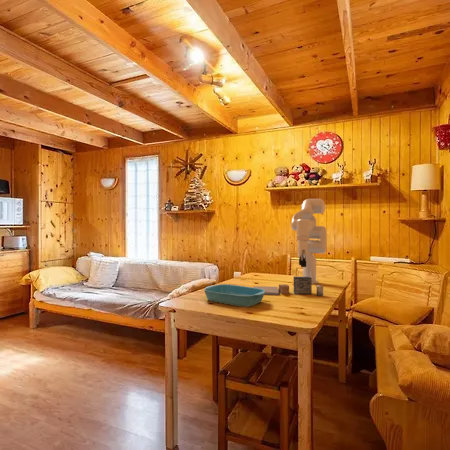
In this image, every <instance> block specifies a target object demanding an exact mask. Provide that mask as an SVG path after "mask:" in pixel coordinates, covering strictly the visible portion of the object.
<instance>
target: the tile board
mask: <svg viewBox="0 0 450 450" xmlns="http://www.w3.org/2000/svg"><path fill="white" fill-rule="evenodd" d="M252 288H260V289H264V290H265V294H264V296H280V293H279V286H263V285H262V286H259V285H256V286H255V285H253V287H252Z"/></svg>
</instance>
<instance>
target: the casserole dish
mask: <svg viewBox="0 0 450 450" xmlns="http://www.w3.org/2000/svg"><path fill="white" fill-rule="evenodd" d="M203 291H204V293H205V296H206V298H207V300H208V301H210V302H213V301H214V302H213V303H217V302H219V303H218V304H222V303H224V305H228V304H230V306H234V305H235V306H236V307H240V306H242V307H241V308H249V307H250V308H251V307H252V306H255V305H257V304H259V303H260V302H262V301H263V299H264V296H265V295H264V294H265V290H264V289H260V288H253V287H251V286H244V285H238V284H237V285H236V284H231V283H229V284H227V283H226V284H225V283H224V284H223V283H221V284H214V285H209V286H206V287H205V288H204V289H203Z"/></svg>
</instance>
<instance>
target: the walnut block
mask: <svg viewBox="0 0 450 450" xmlns="http://www.w3.org/2000/svg"><path fill="white" fill-rule="evenodd" d="M278 291H279V294H281V295H287V294H288V295H289V294H290V285H288V284H285V283H284V284H278Z"/></svg>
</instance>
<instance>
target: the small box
mask: <svg viewBox="0 0 450 450" xmlns="http://www.w3.org/2000/svg"><path fill="white" fill-rule="evenodd" d="M312 286H313V284H312V278H311V277H303V276H297V275H296V276H293V294H294V295H301V296H302V295H303V296H304V295H306V296H307V295H309V296H312V294H313V293H312V289H313V288H312Z"/></svg>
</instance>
